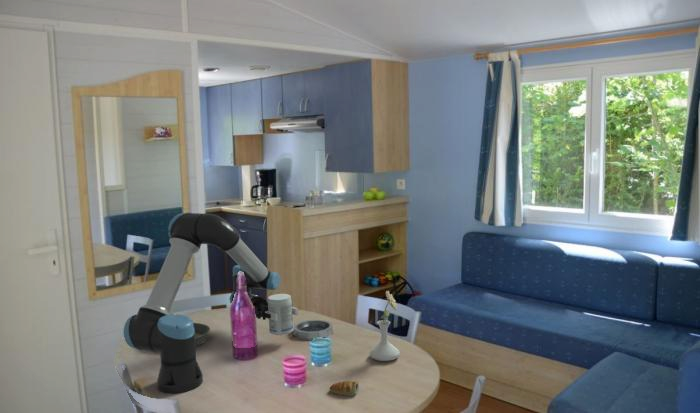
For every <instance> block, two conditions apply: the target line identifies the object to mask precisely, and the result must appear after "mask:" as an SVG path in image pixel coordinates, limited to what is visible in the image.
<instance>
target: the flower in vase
mask: <svg viewBox="0 0 700 413" xmlns="http://www.w3.org/2000/svg"><path fill="white" fill-rule="evenodd" d="M385 297H386V300H387V302H386V303H387V304H386V305H385V308H384V313H383V314H382V316H380V319H382V320H378V321H376V323H377V325H378V327H379V328H380V335H381V336H380V342H379V343H377V344H376V345H375V346H374V347H373V348H371V349H370V351H369V356H370V358H372V359H374V360H376V361H380V362H388V361H394V360H396V359H397V358H399V357H400V355H401V352H400V350H399V349H398V348H397V347H396V346H394V344H392V343H391V342H390V341H389V340H388V330H389V329H388V328H389V326H390V324H391V321H390V320H386V319H385V318H387V317H389V316H390V312H389V310H388V309H387V308H388V306H390V307H391V308H392V309H393V310H395V311H397V310H398V305H397V303H396V302H397V301H396V299H395V298H394V297H393V294H392V293H391V294H390V290H386V291H385Z"/></svg>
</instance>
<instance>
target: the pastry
mask: <svg viewBox="0 0 700 413" xmlns="http://www.w3.org/2000/svg"><path fill="white" fill-rule="evenodd" d="M329 390H330V393H332V394H335V395H338V396H344V397H356V396H357V395H358V391H359V390H360V386H359V383H358V381H357V380H355V381H353V380H348V379H347V380H345V381H338V382H337V383H333V384H332V385H330V386H329Z"/></svg>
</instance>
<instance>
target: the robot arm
mask: <svg viewBox="0 0 700 413" xmlns="http://www.w3.org/2000/svg"><path fill="white" fill-rule="evenodd" d="M167 228H168V229H167V230H168V233H167V234H168V237H169V240H168V241H169V243H170V245H171V246H170V249H169V250H168V253H167V255H166V258H165V260H164V262H163V264H162V266H161V269H160V271H159V273H158V275H157V279H156V281H155V283H154V285H153V288H152V290H151V292H150V295H149V296H148V299H147V301H146V303H145V305H141V306H140V307H139V309H138V311H137V314H133V315H131V316H130V317H128V319H127V320H125V321H126V322H125V324H124V326H123V330H122V331H123V338H124V341H125V343H126V344H127V346H128V347H130V348H132V349H136V350H138V351H146V352H150V353H151V352H152V353H158V354H160V368H159V372H158V377H157V380H156V386H157V390H158V391H160V392H162V393H166V394H178V393H180V394H181V393H184V392H188V391H189V392H190V391H191V390H194V389H196V388H198V387H200V386H201V385H202V383H203V382H204V378H203V372H202V369H201V367H200V365H199V363H198V361H197V354H196V353H197V352H196V351H197V350H196V346H195V337H196V336H195V335H196V333H195V329H194V325H193V323H194V321H193V319H192V318H191V317H189V316H187V315H185V314H173V313H172V314H171V313H170V312H171V309H172V306H173V304H174V302H175V299H176V297H177V295H178V292H179V289H180V287H181V285H182V282H183V279H184V277H185V275H186V272H187V270H188V267H189V264H190V262H191V260H192V257H193V256H194V254H197V253H199V251H200V248H201V246H202V245H211V246H215V247H216V248H218V250H220V251H222V252H225V253H226V254H228V256H229V257H230V259H232V260H233V261H234V262H235V263H236V264H237V265H236V264H235V265H234V266H233V267H232V284H233V291H232V292H231V293H230V296H229V303H230V304H231V303H232V301H233V298H234V294H235V292H236V278H237V273H238V272H239V271H242V272H244V274H245V277H246V282H247V292H248V295H249V297H250V299H251V301H252V303H253V305H254V306H255V314H256V317H255V318H257V319H258V320H259V319H262V320H263V321H266V319H268V320H269V319H271V320H274V321H277V314H275V313H272V312H269V311H268V300H267V299H266V298H265V297H263V296H259V295H257V294H252V289H260V290H267V291H271V290H272V291H274V290H277V289H278V288H279V287H280V284H281V276H280V274H279V273H278V272H275V271H270V270H269V269H268V268H267V266H265V265H264V264H263V262H262V261H261V260H260V258H258V257H257V255H255V253H254V252H253V251H252V250H251V249H250V248H249V247H248V245H247V244H246V243H245V242H244V241H243V240H242V238H241V235H240V232H239V231H238V230H237V229H236V228H235V227H234V226H233V225H232V224H231V223H230V222H228V221H227V220H226V219H224V218H222V217H221V216H219V215H216V214H213V213H201V212H200V213H199V212H198V213H197V212H182V213H178V214H176V215H175V216H173V218H171V220H170V222H169V224H168V227H167ZM292 315H295V316H298V315H299V309H298V308H297V307H294V306H292Z"/></svg>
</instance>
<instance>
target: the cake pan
mask: <svg viewBox="0 0 700 413" xmlns="http://www.w3.org/2000/svg"><path fill="white" fill-rule="evenodd" d="M193 325H194V329H195V334H198V336H195V347H197V346H199V345H200V346H201V344H203V343H205V341H206V340H207V336H208V333H209V332H210V330H211V328H210V326H208V325H207V324H205V323H200V322H193Z"/></svg>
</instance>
